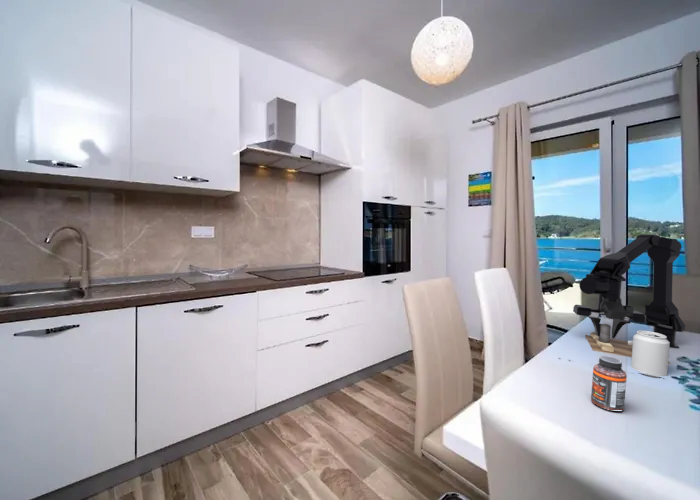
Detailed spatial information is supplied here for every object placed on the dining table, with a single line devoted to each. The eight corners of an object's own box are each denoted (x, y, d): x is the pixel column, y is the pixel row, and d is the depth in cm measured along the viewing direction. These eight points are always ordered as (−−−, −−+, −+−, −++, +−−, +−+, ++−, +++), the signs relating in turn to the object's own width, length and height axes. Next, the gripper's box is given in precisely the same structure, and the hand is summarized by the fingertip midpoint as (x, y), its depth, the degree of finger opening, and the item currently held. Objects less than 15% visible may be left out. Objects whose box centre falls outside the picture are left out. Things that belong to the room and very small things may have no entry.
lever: (589, 335, 117) (590, 316, 117) (602, 337, 115) (603, 317, 115) (600, 349, 102) (601, 328, 102) (615, 352, 100) (617, 330, 100)
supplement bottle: (584, 399, 73) (587, 354, 73) (606, 398, 74) (609, 353, 73) (607, 414, 67) (610, 364, 67) (631, 413, 68) (635, 364, 67)
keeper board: (584, 337, 119) (585, 325, 118) (651, 347, 109) (652, 334, 108) (592, 353, 102) (593, 339, 102) (672, 367, 92) (673, 352, 92)
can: (674, 381, 83) (678, 338, 83) (642, 378, 85) (646, 336, 84) (653, 369, 91) (656, 330, 90) (624, 366, 92) (627, 328, 92)
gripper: (583, 294, 101) (579, 339, 102) (657, 301, 93) (652, 350, 94) (574, 289, 111) (571, 330, 112) (640, 295, 104) (636, 339, 105)
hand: (605, 337), depth 106 cm, fingers open, 4 cm apart
